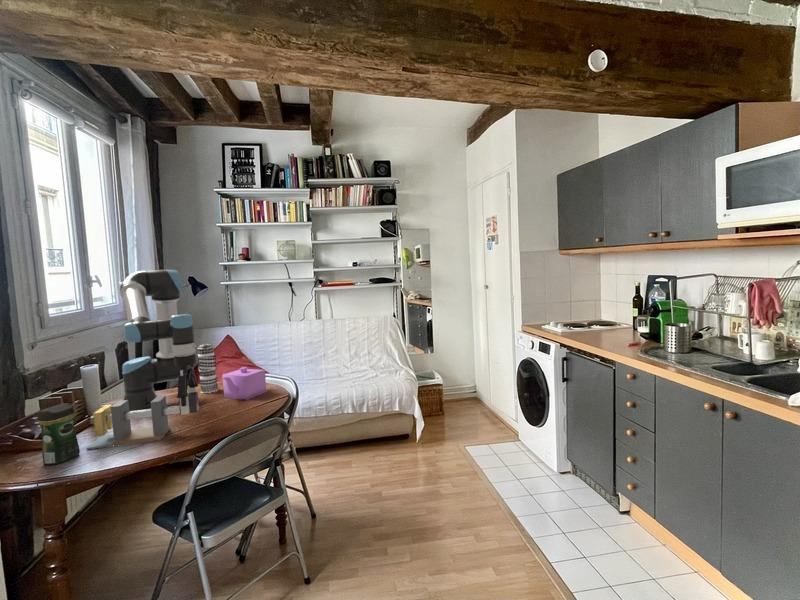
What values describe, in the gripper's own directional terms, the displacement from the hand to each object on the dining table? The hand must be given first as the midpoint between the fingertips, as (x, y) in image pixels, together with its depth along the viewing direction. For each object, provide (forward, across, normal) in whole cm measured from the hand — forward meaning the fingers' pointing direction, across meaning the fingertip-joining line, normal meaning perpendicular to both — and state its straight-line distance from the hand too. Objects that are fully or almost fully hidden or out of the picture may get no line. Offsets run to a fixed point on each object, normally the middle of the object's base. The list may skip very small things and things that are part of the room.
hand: (189, 408), depth 164 cm
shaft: (+1, 0, +15) cm, 15 cm away
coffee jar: (+9, -12, +38) cm, 41 cm away
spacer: (+4, 0, +29) cm, 29 cm away
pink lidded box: (+9, +44, -15) cm, 47 cm away
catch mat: (+9, 0, +29) cm, 30 cm away
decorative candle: (+9, +61, +4) cm, 62 cm away
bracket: (+9, 0, +17) cm, 19 cm away
